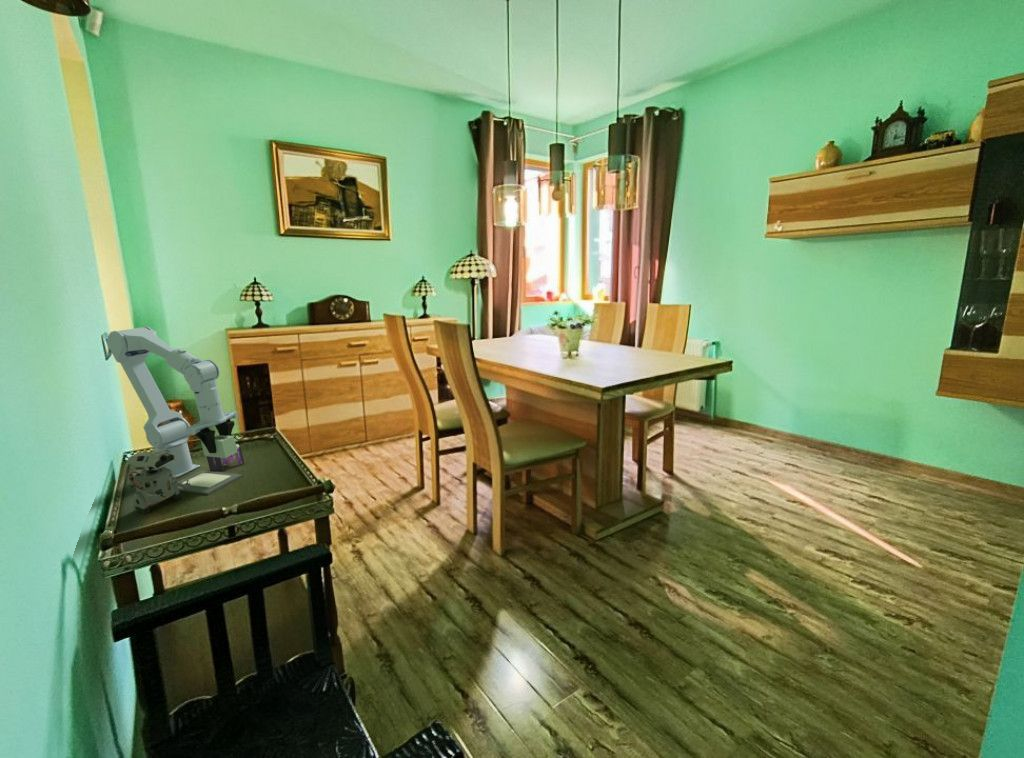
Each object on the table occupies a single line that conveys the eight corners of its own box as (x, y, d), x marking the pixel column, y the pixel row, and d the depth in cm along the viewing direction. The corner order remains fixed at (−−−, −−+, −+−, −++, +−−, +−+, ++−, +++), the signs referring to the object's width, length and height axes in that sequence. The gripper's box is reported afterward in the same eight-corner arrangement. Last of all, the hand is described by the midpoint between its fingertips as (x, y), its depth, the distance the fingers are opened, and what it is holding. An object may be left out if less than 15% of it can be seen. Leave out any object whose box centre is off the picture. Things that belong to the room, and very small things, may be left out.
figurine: (156, 519, 116) (140, 462, 112) (133, 510, 121) (116, 456, 117) (195, 501, 124) (181, 448, 120) (171, 494, 129) (157, 442, 125)
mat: (165, 489, 132) (165, 487, 132) (201, 472, 142) (201, 469, 142) (208, 494, 127) (207, 492, 127) (242, 476, 137) (242, 474, 137)
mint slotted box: (225, 457, 133) (221, 441, 132) (204, 456, 136) (200, 439, 134) (237, 452, 137) (233, 435, 136) (216, 450, 139) (212, 434, 138)
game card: (205, 451, 140) (239, 442, 145) (205, 452, 145) (238, 443, 150) (210, 473, 140) (244, 464, 145) (210, 473, 144) (243, 464, 150)
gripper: (195, 413, 125) (207, 461, 128) (241, 397, 138) (251, 440, 141) (176, 412, 127) (188, 459, 130) (223, 396, 140) (233, 439, 144)
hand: (219, 449), depth 136 cm, fingers closed on mint slotted box, 4 cm apart
